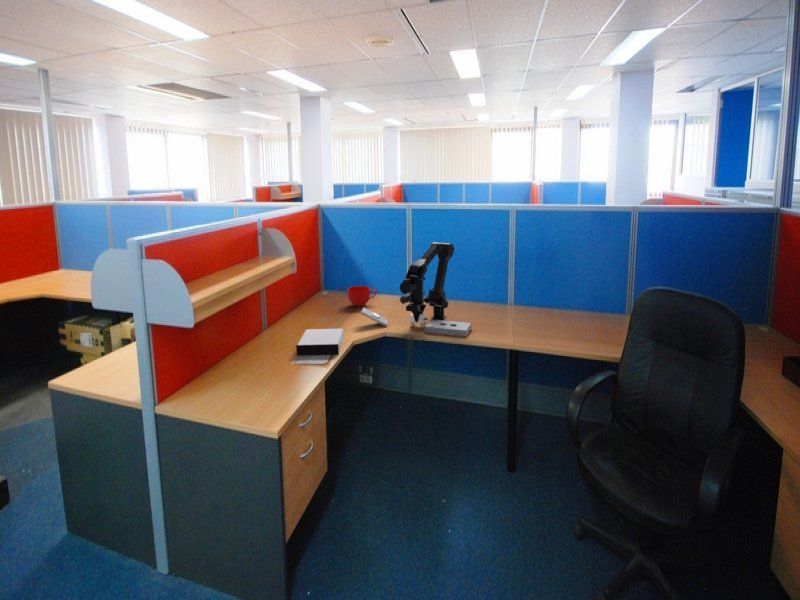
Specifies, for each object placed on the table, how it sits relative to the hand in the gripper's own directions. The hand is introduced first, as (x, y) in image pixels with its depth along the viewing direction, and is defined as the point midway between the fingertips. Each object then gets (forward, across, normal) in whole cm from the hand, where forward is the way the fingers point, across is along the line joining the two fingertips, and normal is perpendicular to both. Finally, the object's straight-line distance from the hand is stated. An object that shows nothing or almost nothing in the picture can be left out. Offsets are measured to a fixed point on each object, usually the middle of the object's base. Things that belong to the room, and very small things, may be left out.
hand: (417, 320), depth 236 cm
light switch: (+3, +3, -22) cm, 22 cm away
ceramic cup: (+3, -29, -43) cm, 52 cm away
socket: (+3, +2, +16) cm, 16 cm away
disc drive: (+4, +39, -32) cm, 51 cm away
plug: (+3, 0, 0) cm, 3 cm away
